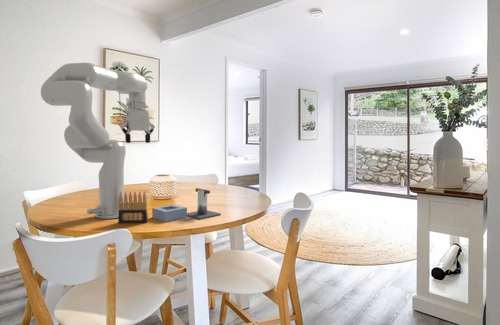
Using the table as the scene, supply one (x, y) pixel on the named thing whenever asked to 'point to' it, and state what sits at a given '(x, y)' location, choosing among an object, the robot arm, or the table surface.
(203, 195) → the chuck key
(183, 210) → the block
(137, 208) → the ammunition clip
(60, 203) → the table surface
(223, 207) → the table surface
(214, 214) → the rubber mat
